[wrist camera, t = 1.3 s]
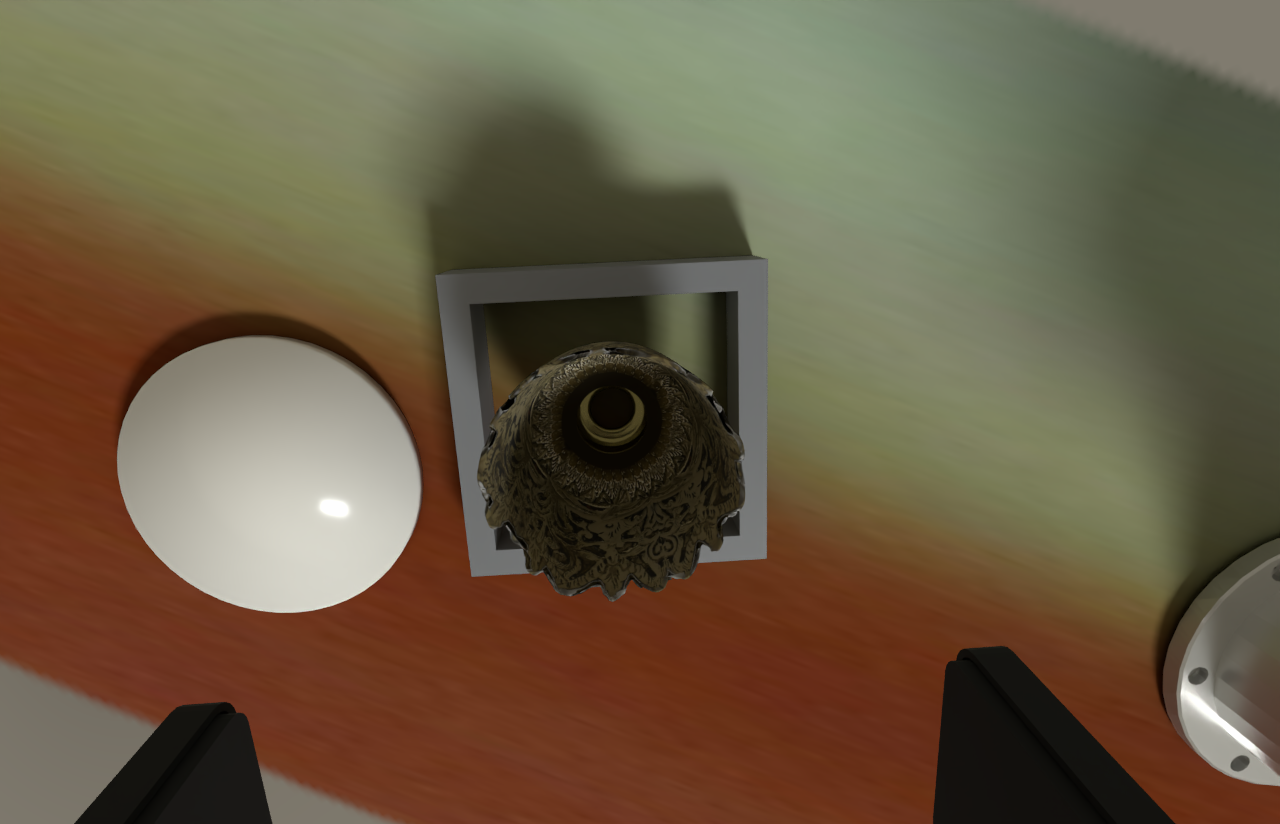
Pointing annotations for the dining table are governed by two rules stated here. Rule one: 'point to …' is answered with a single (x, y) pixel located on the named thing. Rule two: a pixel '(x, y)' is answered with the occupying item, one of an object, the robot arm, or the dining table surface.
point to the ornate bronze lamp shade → (612, 471)
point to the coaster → (270, 473)
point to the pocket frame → (730, 274)
